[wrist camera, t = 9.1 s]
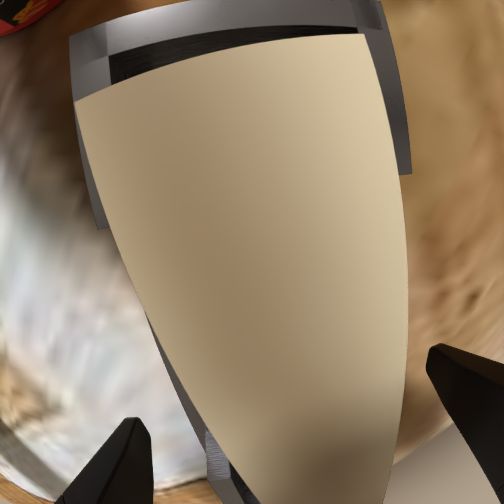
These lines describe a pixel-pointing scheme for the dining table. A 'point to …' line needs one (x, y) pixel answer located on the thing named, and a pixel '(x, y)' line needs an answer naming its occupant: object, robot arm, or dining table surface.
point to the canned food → (22, 13)
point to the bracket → (208, 41)
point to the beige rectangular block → (268, 253)
